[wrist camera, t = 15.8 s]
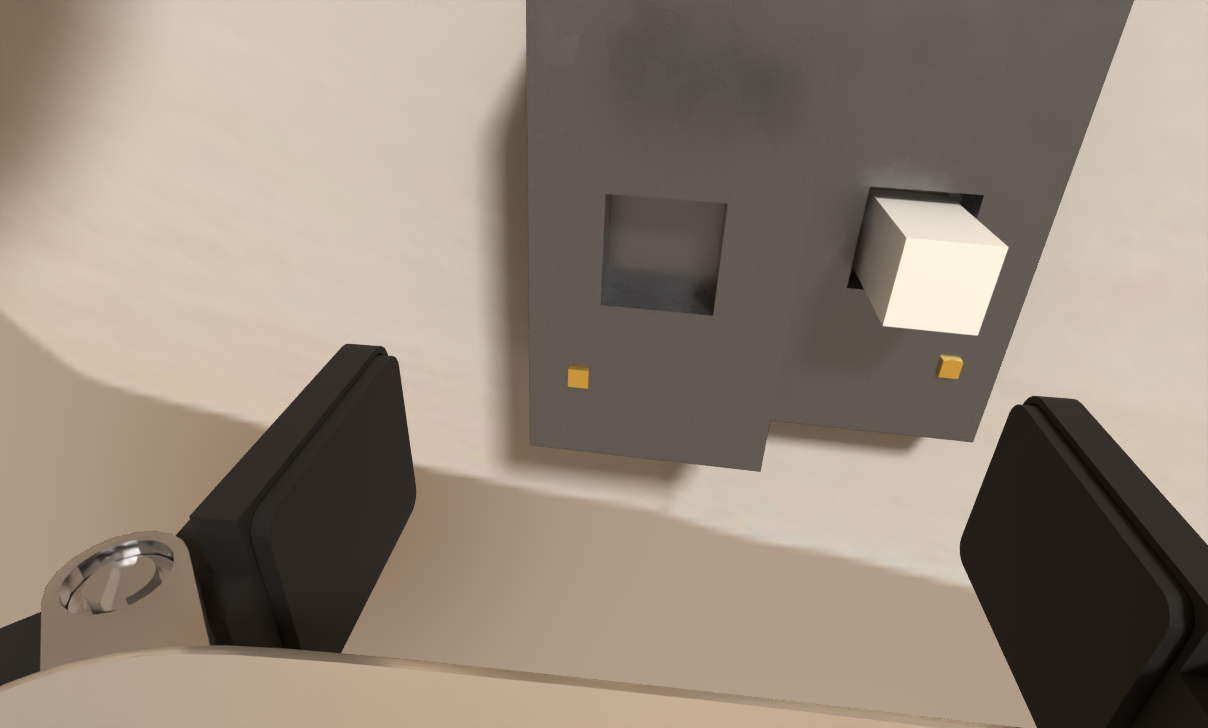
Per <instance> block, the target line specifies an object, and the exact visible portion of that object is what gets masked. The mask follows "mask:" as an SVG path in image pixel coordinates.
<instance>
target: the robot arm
mask: <svg viewBox="0 0 1208 728" xmlns="http://www.w3.org/2000/svg"><path fill="white" fill-rule="evenodd" d="M415 499H416V484H415V477H414V470H413V462H412V455H411V448H410V441H409V434H408V427H407V420H406V413H405V406H404V398H403V391H402V384H401V377H400V370H399V364H398V361H397V359H396V358H395V357H394V356H388V353H387V351H386V349H385V348H384V347H382V346H370V345H357V344H345V345H344V346H343V347H342V348H341V349H340V350H339V351H338V352H337V353H336V354H335V355H334V356H333V357H332V359H331V360H330V361H329V362H328V363H327V364H326V365H325V366H324V367H323V369H322V370H321V371H320V372H319V373H318V374H317V375H316V376H315V377H314V379H313V380H312V381H311V382H310V383H309V384H308V385H307V386H306V387H305V389H304V390H303V391H302V392H301V393H300V394H299V395H298V396H297V397H296V399H295V400H294V401H293V402H292V403H291V404H290V405H289V406H288V407H287V409H286V410H285V411H284V412H283V413H282V414H281V415H280V416H279V417H278V419H277V420H276V421H275V422H274V423H273V424H272V425H271V426H270V427H269V429H268V430H267V431H266V432H265V433H264V434H263V435H262V436H261V437H260V439H259V440H258V441H257V442H256V443H255V444H254V445H253V446H252V447H251V449H250V450H249V451H248V452H247V453H246V454H245V455H244V456H243V458H242V459H241V460H240V461H239V462H238V463H237V464H236V465H235V466H234V467H233V468H232V470H231V471H230V472H229V473H228V474H227V475H226V477H224V479H223V480H222V481H221V482H220V483H219V484H218V485H217V486H216V487H215V489H214V490H213V491H212V492H211V493H210V494H209V495H208V496H207V498H206V499H205V500H204V501H203V502H202V503H201V504H200V505H199V506H198V507H197V509H196V510H195V511H194V512H193V513H192V514H191V515H190V516H189V517H190V520H189V521H188V522H187V523H186V524H185V526H184V527H183V528H182V529H181V530H180V531H179V532H178V533H177V535H176V536H175V535H173V534H171V533H165V532H159V531H145V532H134V533H130V534H126V535H122V536H117V537H114V538H111V539H109V540H107V541H104V542H102V543H100V544H97V545H94V546H92V547H91V548H89V549H87V550H86V551H84V552H82V553H81V554H79V555H77V556H76V557H74V558H73V559H71V560H70V561H69V562H68V563H67V564H66V565H64V566H63V567H62V568H61V569H60V570H59V571H58V572H56V574H55V575H54V577H53V578H52V579H51V581H50V582H49V584H48V585H47V586H46V588H45V591H44V595H43V598H42V602H41V612H40V613H37V614H35V615H32V616H30V617H27V618H25V619H22V620H20V621H17V622H15V623H13V624H10V625H8V626H5V627H3V628H0V728H1020V727H1011V726H1002V725H994V724H985V723H976V722H968V721H960V720H950V719H942V718H934V717H925V716H917V715H908V714H900V713H891V712H883V711H874V710H866V709H857V708H849V707H840V706H830V705H822V704H813V703H804V702H795V701H786V700H778V699H769V698H759V697H751V696H742V695H733V694H724V693H715V692H706V691H697V690H688V689H678V688H670V687H661V686H651V685H643V684H633V683H625V682H616V681H606V680H598V679H587V678H579V677H569V676H559V675H550V674H540V673H532V672H522V671H512V670H503V669H494V668H484V667H475V666H465V665H456V664H446V663H437V662H428V661H418V660H409V659H398V658H387V657H375V656H364V655H353V654H342V653H341V652H342V650H343V648H344V646H345V644H346V642H347V640H348V638H349V636H350V634H351V632H352V630H353V628H354V626H355V624H356V622H357V620H358V618H359V616H360V614H361V612H362V610H363V608H364V606H365V604H366V602H367V600H368V598H369V596H370V594H371V592H372V590H373V588H374V586H375V584H376V582H377V580H378V578H379V576H380V574H381V572H382V570H383V568H384V566H385V564H386V563H387V561H388V559H389V556H390V554H391V552H392V550H393V549H394V547H395V545H396V542H397V541H398V538H399V537H400V535H401V533H402V531H403V529H404V527H405V525H406V523H407V521H408V519H409V517H410V515H411V513H412V511H413V508H414V504H415ZM960 556H961V561H962V564H963V566H964V568H965V570H966V573H967V575H968V577H969V579H970V581H971V584H972V586H973V588H974V590H975V592H976V595H977V597H978V599H979V601H980V603H981V606H982V608H983V610H984V612H985V614H986V617H987V619H988V621H989V623H990V625H991V628H992V630H993V632H994V634H995V636H996V638H997V640H998V643H999V645H1000V647H1001V650H1002V652H1003V654H1004V656H1005V658H1006V660H1007V663H1008V665H1009V667H1010V669H1011V671H1012V674H1013V676H1014V678H1015V680H1016V682H1017V684H1018V686H1019V689H1020V691H1021V693H1022V696H1023V698H1024V700H1025V702H1026V704H1027V706H1028V709H1029V711H1030V713H1031V715H1032V718H1033V720H1034V722H1035V724H1036V726H1037V728H1208V545H1207V544H1206V543H1205V542H1204V540H1203V539H1202V538H1201V537H1200V536H1199V535H1198V534H1197V533H1196V532H1195V530H1194V529H1193V528H1192V527H1191V526H1190V525H1189V524H1188V523H1187V521H1186V520H1185V519H1184V518H1183V517H1182V516H1181V515H1180V514H1179V512H1178V511H1177V510H1176V509H1175V508H1174V507H1173V506H1172V505H1171V503H1170V502H1169V501H1168V500H1167V499H1166V498H1165V497H1164V496H1163V494H1162V493H1161V492H1160V491H1159V490H1158V489H1157V488H1156V487H1155V485H1154V484H1153V483H1152V482H1151V481H1150V480H1149V479H1148V478H1147V476H1146V475H1145V474H1144V473H1143V472H1142V471H1141V470H1140V469H1139V468H1138V466H1137V465H1136V464H1135V463H1134V462H1133V461H1132V460H1131V459H1130V457H1129V456H1128V455H1127V454H1126V453H1125V452H1124V451H1123V450H1122V448H1121V447H1120V446H1119V445H1118V444H1117V443H1116V442H1115V441H1114V439H1113V438H1112V437H1111V436H1110V435H1109V434H1108V433H1107V432H1106V430H1105V429H1104V428H1103V427H1102V426H1101V425H1100V424H1099V423H1098V421H1097V420H1096V419H1095V418H1094V417H1093V416H1092V415H1091V414H1090V412H1089V411H1088V410H1087V409H1086V408H1085V407H1084V406H1083V405H1082V404H1081V403H1080V402H1079V401H1078V400H1075V399H1067V398H1054V397H1041V396H1032V397H1029V398H1028V399H1027V400H1026V401H1025V402H1024V404H1023V405H1019V404H1018V405H1016V406H1014V407H1013V408H1012V409H1011V411H1010V413H1009V416H1008V418H1007V421H1006V423H1005V426H1004V429H1003V431H1002V434H1001V436H1000V439H999V442H998V444H997V447H996V449H995V452H994V454H993V457H992V460H991V462H990V465H989V467H988V470H987V473H986V475H985V478H984V480H983V483H982V486H981V488H980V491H979V493H978V496H977V499H976V501H975V504H974V506H973V509H972V512H971V514H970V517H969V519H968V522H967V524H966V527H965V530H964V532H963V535H962V538H961V541H960Z"/></svg>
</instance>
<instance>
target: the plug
mask: <svg viewBox="0 0 1208 728" xmlns="http://www.w3.org/2000/svg"><path fill="white" fill-rule="evenodd" d="M1007 250H1008V246H1007V245H1006V244H1004V243H1003V242H1002V241H1001V240H1000V239H999V238H998V237H996V236H995V235H994V234H993V233H992V232H991V231H990V230H988V229H987V228H986V227H985V226H984V225H983V224H981V223H980V222H979V221H978V220H977V219H976V218H975V217H973V216H972V215H971V214H970V213H969V212H968V211H967V210H965V209H964V208H963V207H962V206H961V205H960V204H959V203H957V202H956V201H955V200H954V199H953V198H952V197H951V196H949V195H939V194H927V193H915V192H903V191H892V190H880V189H869V193H868V197H867V202H866V206H865V210H864V215H863V219H862V224H861V228H860V232H859V237H858V241H857V245H856V250H855V254H854V259H853V263H852V267H853V269H854V271H855V273H856V275H857V277H858V278H859V280H860V282H861V284H862V286H863V288H864V290H865V292H866V294H867V296H868V298H869V300H870V302H871V304H872V306H873V308H874V310H875V312H876V314H877V316H878V318H879V320H880V322H881V324H882V326H888V327H898V328H908V329H918V330H927V331H937V332H947V333H957V334H967V335H976V336H978V333H979V331H980V328H981V325H982V322H983V319H984V316H985V313H986V311H987V308H988V305H989V302H990V299H991V296H992V293H993V290H994V288H995V285H996V282H997V279H998V276H999V273H1000V270H1001V268H1002V265H1003V262H1004V259H1005V256H1006V253H1007Z"/></svg>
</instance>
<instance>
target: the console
mask: <svg viewBox="0 0 1208 728" xmlns="http://www.w3.org/2000/svg"><path fill="white" fill-rule="evenodd" d="M1133 2H1134V0H526V46H527V160H528V274H529V388H530V445H533V446H542V447H550V448H559V449H568V450H576V451H585V452H594V453H602V454H611V455H620V456H628V457H637V458H646V459H654V460H663V461H672V462H680V463H689V464H698V465H706V466H715V467H724V468H732V469H741V470H750V471H758V472H761V466H762V461H763V456H764V451H765V445H766V440H767V435H768V430H769V424H770V420H771V421H780V422H790V423H799V424H808V425H817V426H826V427H836V428H845V429H854V430H863V431H873V432H882V433H891V434H900V435H909V436H919V437H928V438H937V439H946V440H956V441H965V442H973V441H974V438H975V435H976V432H977V430H978V427H979V424H980V421H981V419H982V416H983V413H984V410H985V408H986V405H987V402H988V399H989V397H990V394H991V391H992V389H993V386H994V383H995V380H996V378H997V375H998V372H999V369H1000V367H1001V364H1002V361H1003V358H1004V356H1005V353H1006V350H1007V347H1008V345H1009V342H1010V339H1011V336H1012V334H1013V331H1014V328H1015V325H1016V323H1017V320H1018V317H1019V314H1020V312H1021V309H1022V306H1023V303H1024V301H1025V298H1026V295H1027V293H1028V290H1029V287H1030V284H1031V282H1032V279H1033V276H1034V273H1035V271H1036V268H1037V265H1038V262H1039V260H1040V257H1041V254H1042V251H1043V249H1044V246H1045V243H1046V240H1047V238H1048V235H1049V232H1050V229H1051V227H1052V224H1053V221H1054V218H1055V216H1056V213H1057V210H1058V207H1059V205H1060V202H1061V199H1062V197H1063V194H1064V191H1065V188H1066V186H1067V183H1068V180H1069V177H1070V175H1071V172H1072V169H1073V166H1074V164H1075V161H1076V158H1077V155H1078V153H1079V150H1080V147H1081V144H1082V142H1083V139H1084V136H1085V133H1086V131H1087V128H1088V125H1089V122H1090V120H1091V117H1092V114H1093V112H1094V109H1095V106H1096V103H1097V101H1098V98H1099V95H1100V92H1101V90H1102V87H1103V84H1104V81H1105V79H1106V76H1107V73H1108V70H1109V68H1110V65H1111V62H1112V59H1113V57H1114V54H1115V51H1116V48H1117V46H1118V43H1119V40H1120V37H1121V35H1122V32H1123V29H1124V26H1125V24H1126V21H1127V18H1128V16H1129V13H1130V10H1131V7H1132V5H1133ZM869 189H880V190H892V191H903V192H915V193H927V194H939V195H949V196H951V197H952V198H953V199H954V200H955V201H956V202H957V203H959V204H960V205H961V206H962V207H963V208H964V209H965V210H967V211H968V212H969V213H970V214H971V215H972V216H973V217H975V218H976V219H977V220H978V221H979V222H980V223H981V224H983V225H984V226H985V227H986V228H987V229H988V230H990V231H991V232H992V233H993V234H994V235H995V236H996V237H998V238H999V239H1000V240H1001V241H1002V242H1003V243H1004V244H1006V245H1007V246H1008V250H1007V253H1006V256H1005V259H1004V262H1003V265H1002V268H1001V270H1000V273H999V276H998V279H997V282H996V285H995V288H994V290H993V293H992V296H991V299H990V302H989V305H988V308H987V311H986V313H985V316H984V319H983V322H982V325H981V328H980V331H979V333H978V336H976V335H967V334H957V333H947V332H937V331H927V330H918V329H908V328H898V327H888V326H882V324H881V322H880V320H879V318H878V316H877V314H876V312H875V310H874V308H873V306H872V304H871V302H870V300H869V298H868V296H867V294H866V292H865V290H864V288H863V286H862V284H861V282H860V280H859V278H858V277H857V275H856V273H855V271H854V269H853V267H852V263H853V259H854V254H855V250H856V245H857V241H858V237H859V232H860V228H861V224H862V219H863V215H864V210H865V206H866V202H867V197H868V193H869Z"/></svg>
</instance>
